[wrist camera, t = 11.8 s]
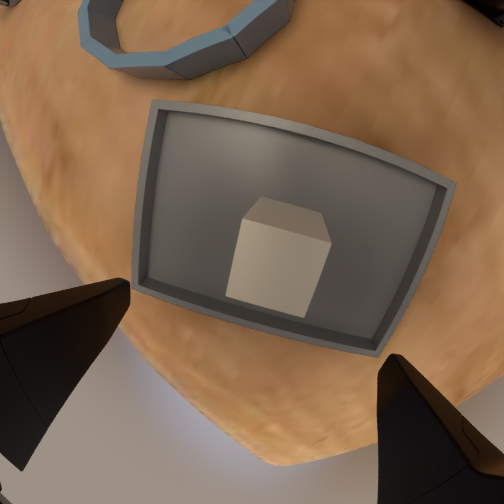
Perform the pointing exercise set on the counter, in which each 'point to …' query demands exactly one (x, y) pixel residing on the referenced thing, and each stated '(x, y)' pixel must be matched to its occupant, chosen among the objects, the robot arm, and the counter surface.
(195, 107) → the tray
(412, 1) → the counter surface
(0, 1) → the lotion bottle
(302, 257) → the beige rectangular block
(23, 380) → the robot arm
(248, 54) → the blue ring
